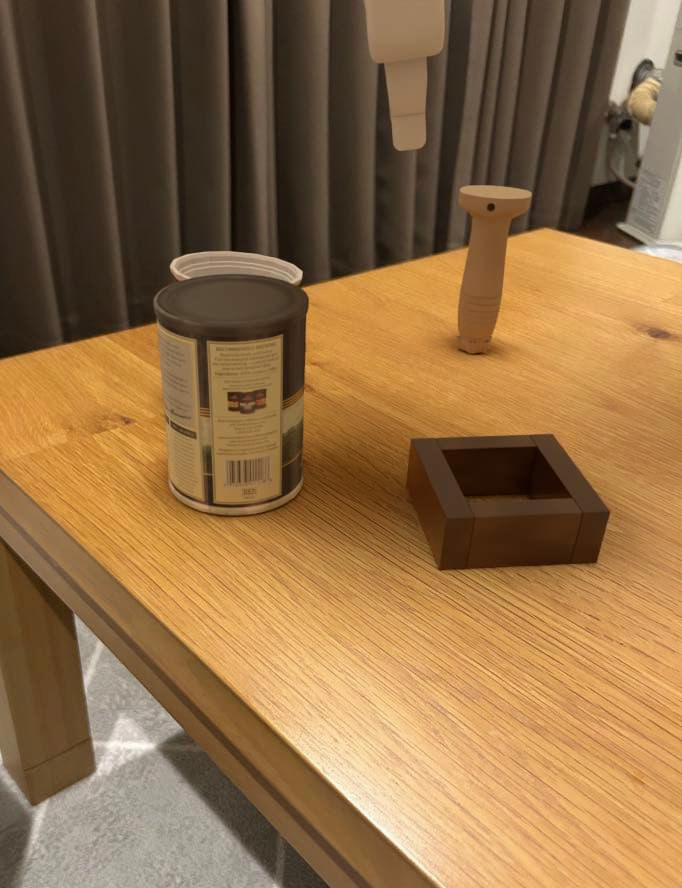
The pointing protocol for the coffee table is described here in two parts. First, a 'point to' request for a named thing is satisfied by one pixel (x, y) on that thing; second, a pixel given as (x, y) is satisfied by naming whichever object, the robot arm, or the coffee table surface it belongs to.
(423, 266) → the coffee table surface
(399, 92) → the robot arm
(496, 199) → the handle
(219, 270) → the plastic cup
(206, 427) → the coffee can
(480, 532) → the stand
